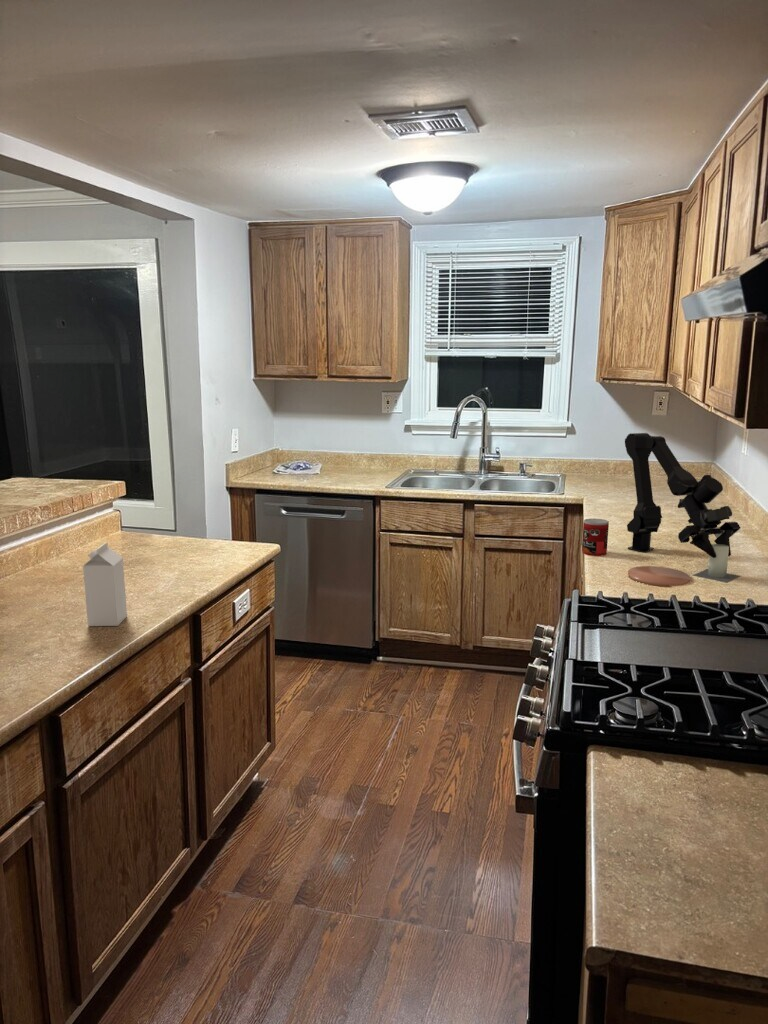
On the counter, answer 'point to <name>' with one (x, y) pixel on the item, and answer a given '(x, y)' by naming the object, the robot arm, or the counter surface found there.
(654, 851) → the counter surface
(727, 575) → the rubber mat
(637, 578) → the terracotta plate
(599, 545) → the canned food
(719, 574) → the sage canister
